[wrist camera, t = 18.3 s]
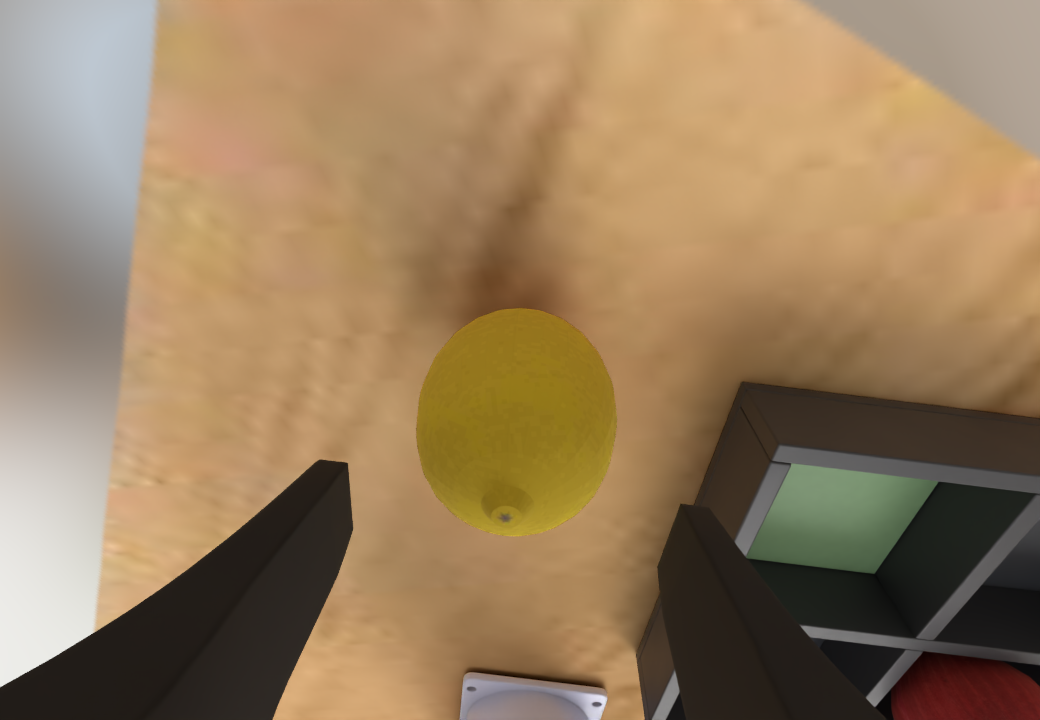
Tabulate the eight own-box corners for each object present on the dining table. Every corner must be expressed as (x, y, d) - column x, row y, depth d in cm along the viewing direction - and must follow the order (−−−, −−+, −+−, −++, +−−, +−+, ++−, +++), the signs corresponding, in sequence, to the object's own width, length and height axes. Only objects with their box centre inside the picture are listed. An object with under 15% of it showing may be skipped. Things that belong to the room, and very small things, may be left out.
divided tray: (958, 694, 27) (1010, 774, 24) (635, 654, 27) (646, 730, 24) (1215, 439, 18) (1346, 513, 15) (741, 381, 18) (778, 443, 15)
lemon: (592, 257, 16) (621, 398, 9) (611, 400, 19) (644, 591, 12) (427, 285, 17) (341, 433, 10) (467, 418, 20) (421, 608, 13)
